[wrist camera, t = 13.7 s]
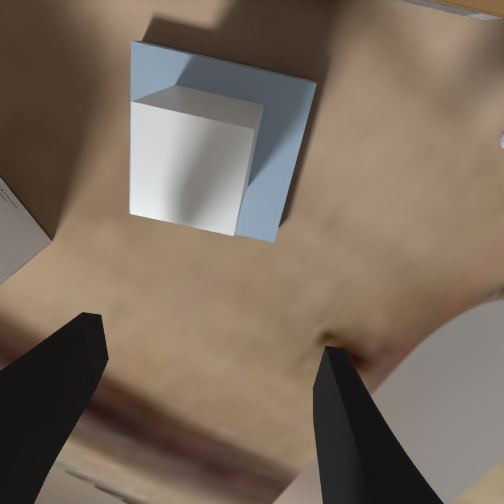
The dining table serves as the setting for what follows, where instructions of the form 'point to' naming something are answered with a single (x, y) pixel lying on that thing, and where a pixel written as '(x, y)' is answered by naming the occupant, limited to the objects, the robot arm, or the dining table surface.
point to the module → (192, 157)
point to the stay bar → (478, 6)
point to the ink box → (17, 234)
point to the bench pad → (249, 89)
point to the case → (452, 9)
